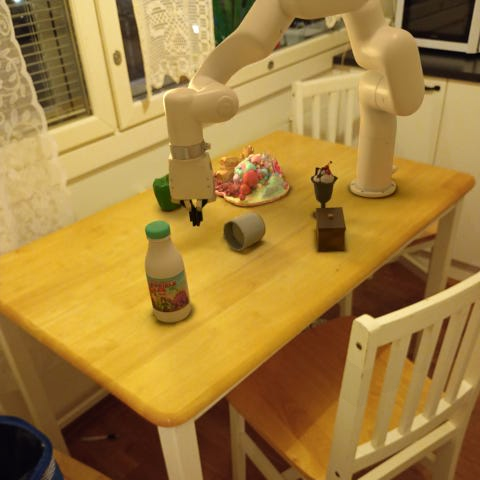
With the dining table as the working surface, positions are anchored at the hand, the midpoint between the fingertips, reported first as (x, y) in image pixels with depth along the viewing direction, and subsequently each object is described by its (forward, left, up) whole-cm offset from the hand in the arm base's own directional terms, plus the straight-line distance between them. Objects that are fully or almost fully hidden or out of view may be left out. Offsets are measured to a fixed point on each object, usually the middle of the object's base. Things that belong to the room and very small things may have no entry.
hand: (196, 223), depth 127 cm
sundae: (-30, +16, -6) cm, 34 cm away
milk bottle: (+23, +16, -6) cm, 29 cm away
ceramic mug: (-7, +8, -6) cm, 12 cm away
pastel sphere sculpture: (-33, -12, -6) cm, 36 cm away
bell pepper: (-10, -22, -6) cm, 25 cm away
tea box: (-20, +25, -6) cm, 32 cm away
